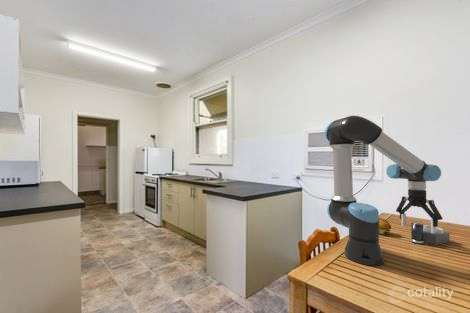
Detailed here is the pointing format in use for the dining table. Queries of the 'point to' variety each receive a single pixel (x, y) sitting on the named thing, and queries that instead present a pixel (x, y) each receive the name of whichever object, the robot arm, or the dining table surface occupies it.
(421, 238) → the lens
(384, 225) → the orange brown stemmed fruit
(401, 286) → the dining table surface
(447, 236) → the block
